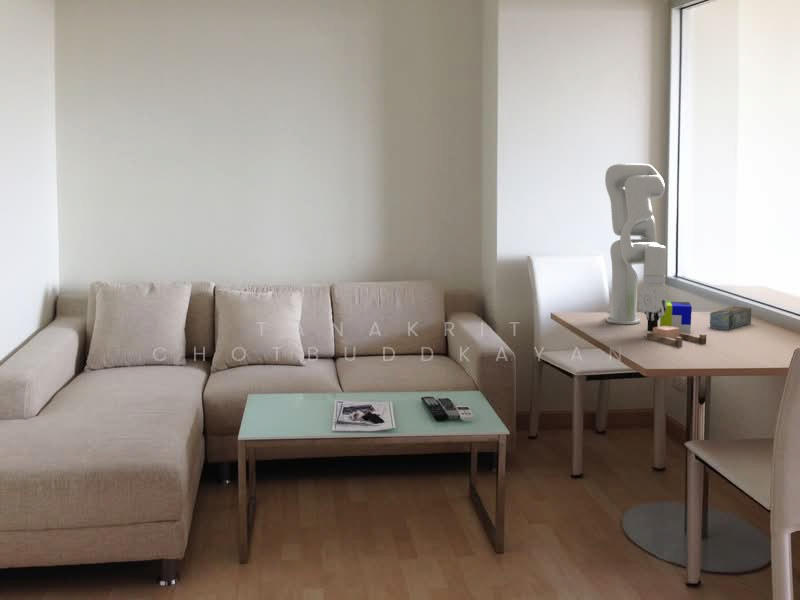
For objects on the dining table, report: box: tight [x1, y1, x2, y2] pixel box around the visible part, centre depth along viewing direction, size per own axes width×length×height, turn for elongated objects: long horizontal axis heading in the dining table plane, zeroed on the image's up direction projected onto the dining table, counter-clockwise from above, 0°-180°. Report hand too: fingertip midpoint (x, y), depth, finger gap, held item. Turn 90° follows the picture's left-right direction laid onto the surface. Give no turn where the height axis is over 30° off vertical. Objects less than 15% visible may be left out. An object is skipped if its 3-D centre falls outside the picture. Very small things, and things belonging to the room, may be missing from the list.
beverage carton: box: [709, 305, 752, 331], centre depth 361 cm, size 8×19×7 cm, turn 136°
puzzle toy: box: [659, 301, 693, 335], centre depth 350 cm, size 10×10×10 cm
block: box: [652, 325, 680, 339], centre depth 336 cm, size 6×7×4 cm
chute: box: [646, 332, 707, 348], centre depth 331 cm, size 16×12×3 cm
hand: (652, 330), depth 342 cm, fingers closed
